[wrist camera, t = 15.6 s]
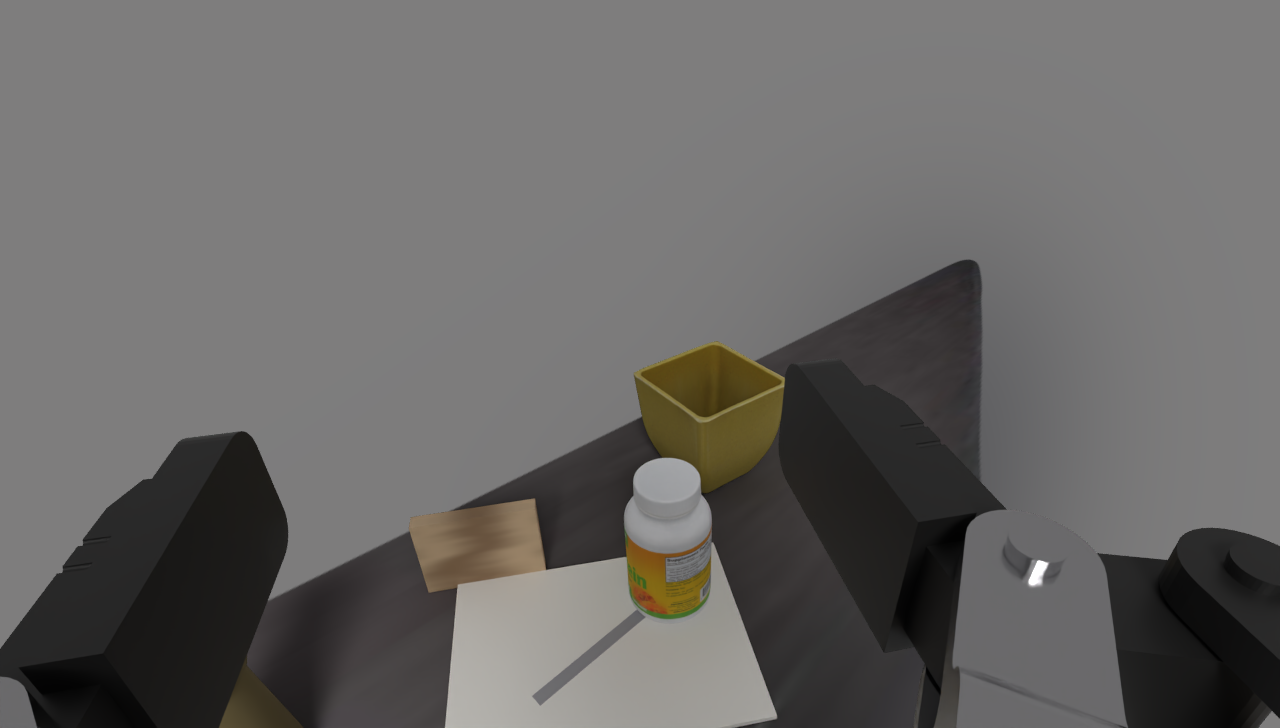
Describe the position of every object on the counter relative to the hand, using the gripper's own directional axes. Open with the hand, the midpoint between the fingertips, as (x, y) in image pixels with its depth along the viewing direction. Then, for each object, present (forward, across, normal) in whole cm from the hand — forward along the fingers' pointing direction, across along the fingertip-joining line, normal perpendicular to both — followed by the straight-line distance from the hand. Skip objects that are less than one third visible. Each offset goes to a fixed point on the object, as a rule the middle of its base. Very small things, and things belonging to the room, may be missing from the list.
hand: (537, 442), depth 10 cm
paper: (+17, -1, +29) cm, 34 cm away
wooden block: (+24, +6, +29) cm, 39 cm away
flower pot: (+32, -12, +30) cm, 45 cm away
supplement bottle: (+20, -6, +29) cm, 36 cm away
